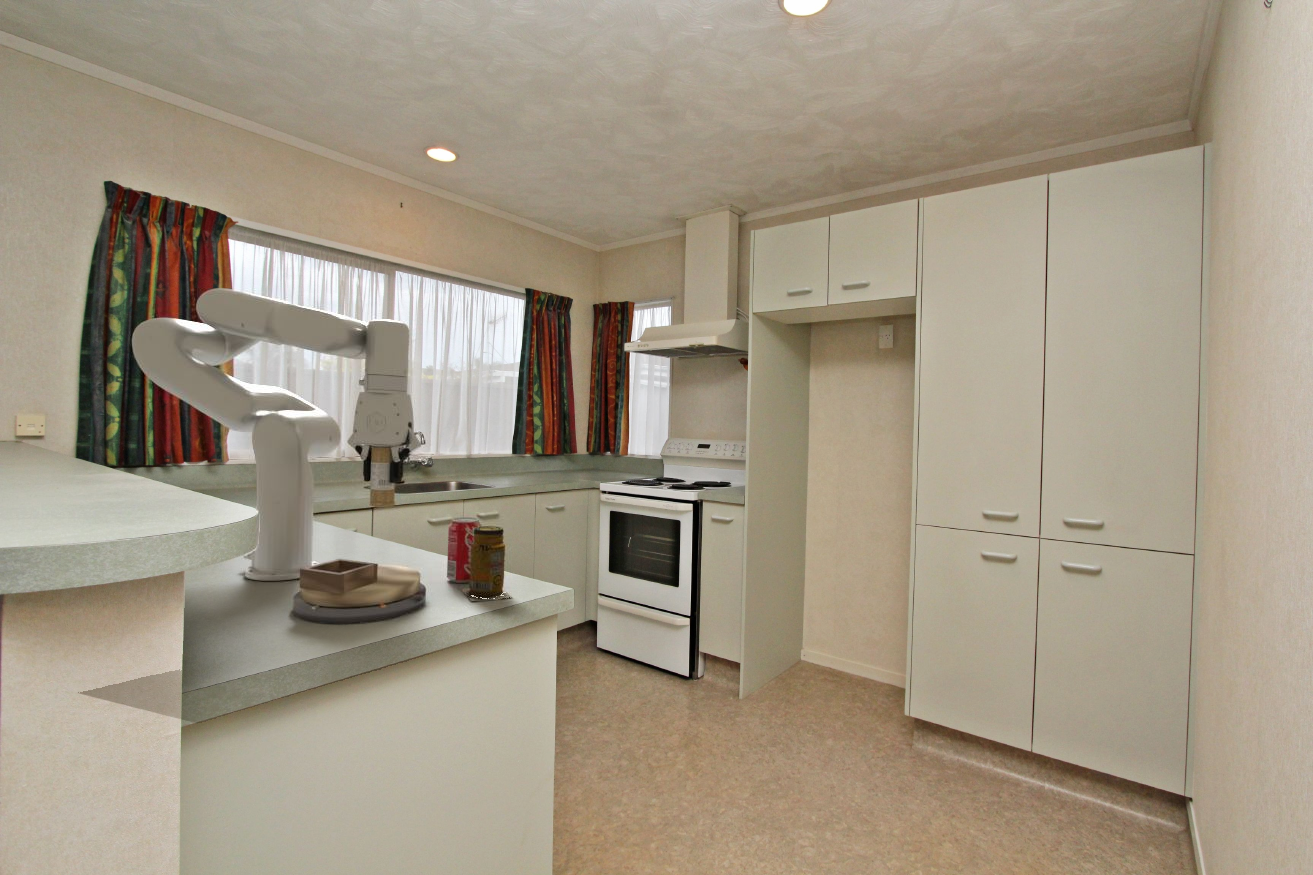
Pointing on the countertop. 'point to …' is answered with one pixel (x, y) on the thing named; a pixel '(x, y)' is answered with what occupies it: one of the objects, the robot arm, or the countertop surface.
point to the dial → (356, 583)
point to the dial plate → (358, 610)
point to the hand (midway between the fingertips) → (382, 480)
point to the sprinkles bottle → (381, 477)
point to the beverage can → (460, 548)
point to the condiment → (487, 564)
